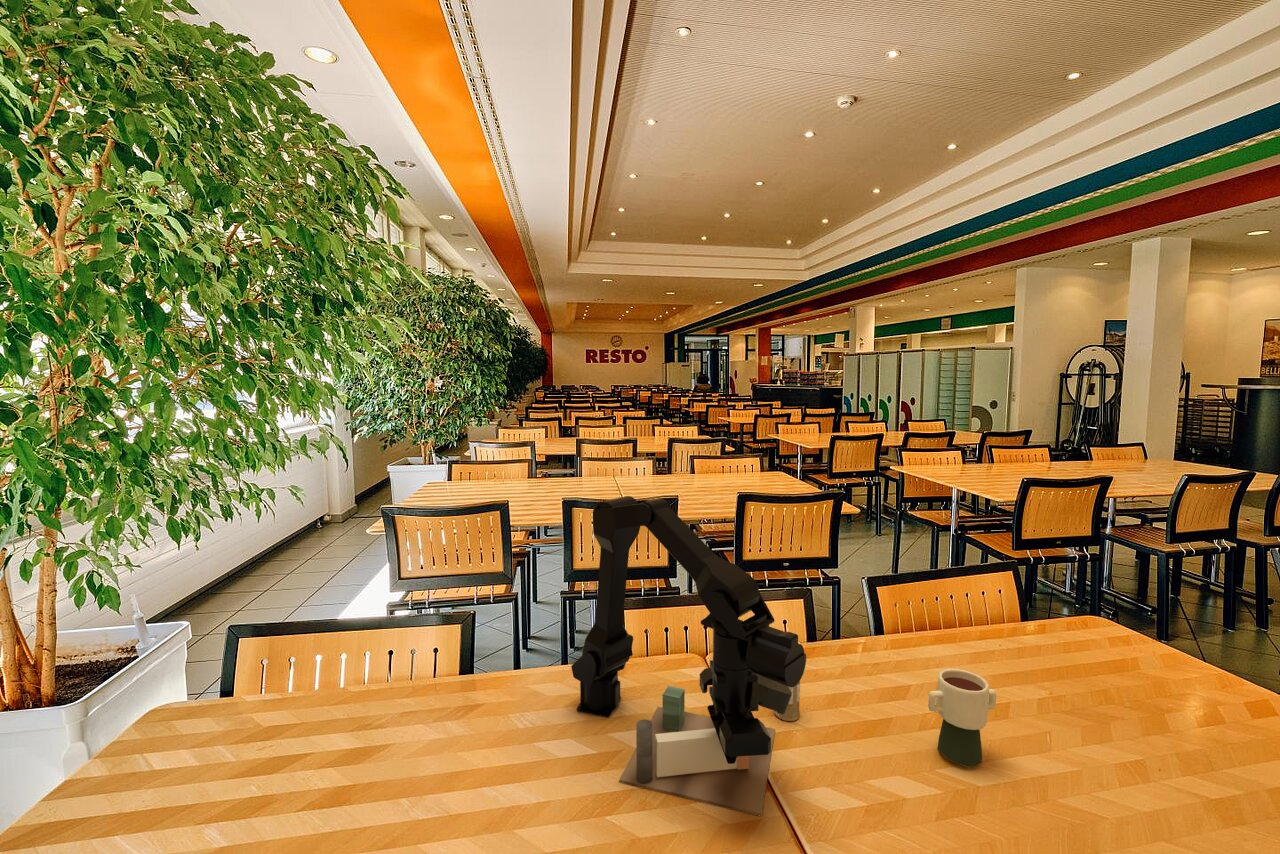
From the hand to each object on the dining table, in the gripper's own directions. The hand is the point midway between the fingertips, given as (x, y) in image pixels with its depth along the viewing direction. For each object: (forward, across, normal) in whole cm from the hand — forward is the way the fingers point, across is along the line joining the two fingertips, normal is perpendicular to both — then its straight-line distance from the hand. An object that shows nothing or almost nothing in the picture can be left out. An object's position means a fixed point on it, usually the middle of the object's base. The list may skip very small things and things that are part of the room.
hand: (730, 762), depth 85 cm
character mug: (+4, +3, -38) cm, 38 cm away
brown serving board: (+4, +7, +3) cm, 8 cm away
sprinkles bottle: (+3, +16, -14) cm, 22 cm away
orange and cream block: (+3, +3, +4) cm, 5 cm away
